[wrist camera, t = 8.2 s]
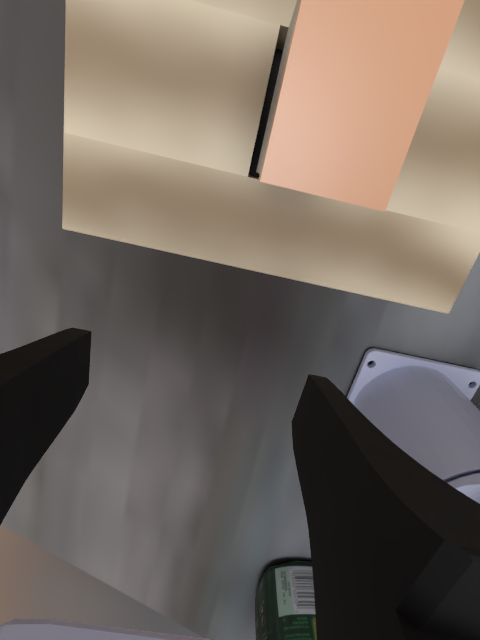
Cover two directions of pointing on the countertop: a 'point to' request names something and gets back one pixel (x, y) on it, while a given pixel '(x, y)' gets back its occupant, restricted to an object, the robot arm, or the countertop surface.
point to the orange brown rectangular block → (352, 95)
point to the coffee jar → (286, 603)
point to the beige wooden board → (237, 149)
